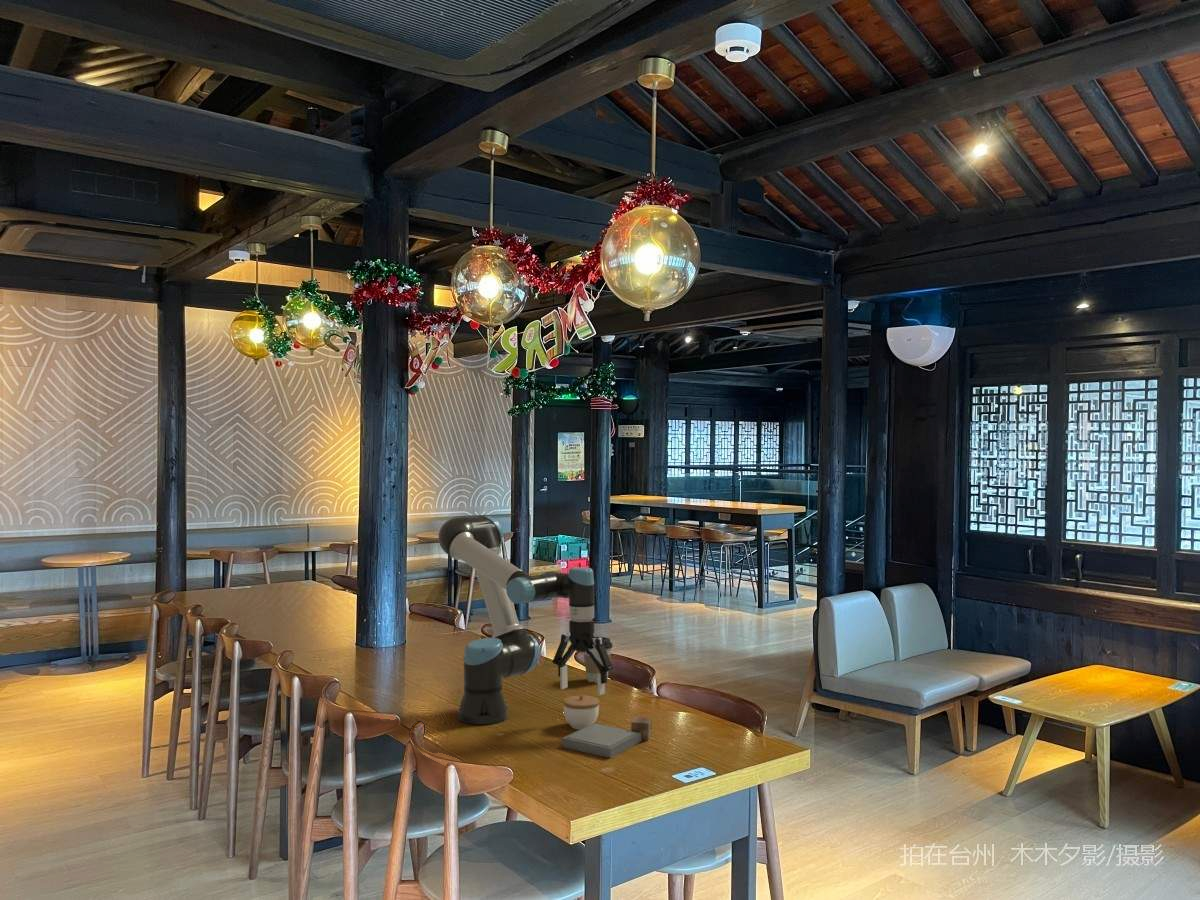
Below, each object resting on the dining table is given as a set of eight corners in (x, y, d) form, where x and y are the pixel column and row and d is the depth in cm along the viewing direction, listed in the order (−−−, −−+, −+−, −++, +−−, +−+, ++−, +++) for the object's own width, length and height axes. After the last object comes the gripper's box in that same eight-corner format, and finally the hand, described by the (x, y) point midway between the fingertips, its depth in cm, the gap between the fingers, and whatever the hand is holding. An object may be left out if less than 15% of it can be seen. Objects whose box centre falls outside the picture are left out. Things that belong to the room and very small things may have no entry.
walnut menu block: (631, 739, 239) (631, 722, 239) (635, 734, 244) (635, 716, 244) (648, 741, 238) (648, 723, 238) (651, 735, 243) (651, 718, 243)
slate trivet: (562, 746, 233) (562, 737, 233) (594, 731, 246) (594, 722, 246) (610, 758, 224) (610, 748, 224) (641, 741, 237) (641, 732, 237)
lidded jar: (567, 733, 244) (568, 701, 244) (559, 722, 255) (559, 691, 255) (603, 730, 247) (603, 698, 247) (594, 719, 257) (594, 688, 258)
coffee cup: (614, 677, 308) (614, 636, 308) (611, 685, 297) (611, 642, 297) (583, 676, 309) (583, 635, 309) (579, 684, 298) (579, 642, 298)
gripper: (540, 618, 255) (541, 688, 254) (609, 625, 241) (610, 699, 241) (555, 614, 261) (556, 683, 261) (623, 621, 248) (624, 693, 247)
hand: (582, 691), depth 251 cm, fingers open, 13 cm apart
